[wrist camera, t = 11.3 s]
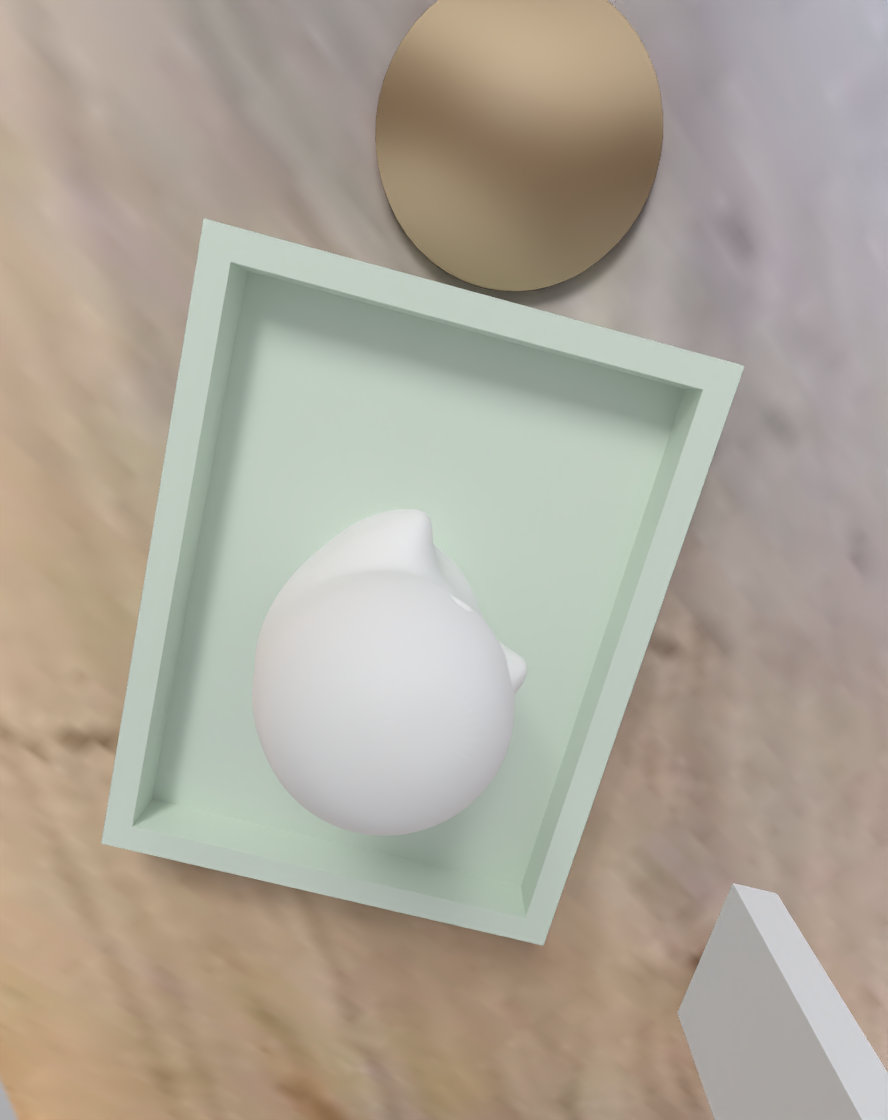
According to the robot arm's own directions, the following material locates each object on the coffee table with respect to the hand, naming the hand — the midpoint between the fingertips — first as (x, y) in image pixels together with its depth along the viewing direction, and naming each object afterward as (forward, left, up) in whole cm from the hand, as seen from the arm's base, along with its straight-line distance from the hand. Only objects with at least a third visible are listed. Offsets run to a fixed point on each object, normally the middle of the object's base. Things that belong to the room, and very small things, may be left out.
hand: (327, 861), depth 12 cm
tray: (0, 0, -15) cm, 15 cm away
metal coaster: (-16, 0, -15) cm, 22 cm away
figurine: (0, 0, -15) cm, 15 cm away
